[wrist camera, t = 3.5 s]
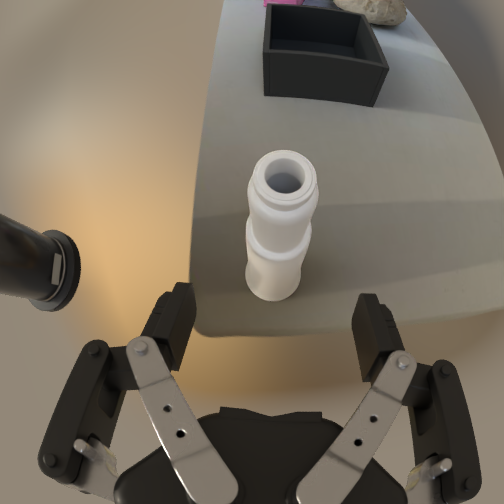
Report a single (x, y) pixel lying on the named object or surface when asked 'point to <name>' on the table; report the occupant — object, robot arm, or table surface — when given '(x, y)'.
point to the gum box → (283, 2)
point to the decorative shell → (376, 10)
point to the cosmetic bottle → (279, 223)
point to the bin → (321, 55)
